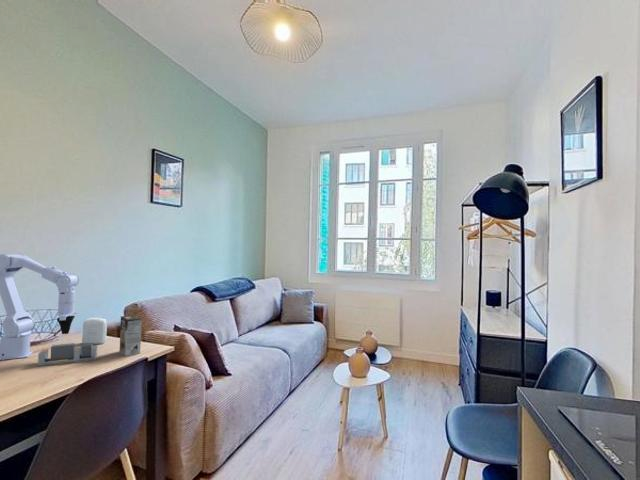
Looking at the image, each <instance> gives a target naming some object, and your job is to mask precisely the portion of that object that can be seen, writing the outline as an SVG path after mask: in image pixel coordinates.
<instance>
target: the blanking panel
mask: <svg viewBox="0 0 640 480" xmlns="http://www.w3.org/2000/svg"><path fill="white" fill-rule="evenodd" d="M75 345H76V343H72V342H71V343H63V344H62V343H61V344H52V345H51V346H50V358H51V360H50V361H52V360H61V359H74V350H75V348H76V346H75Z"/></svg>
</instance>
